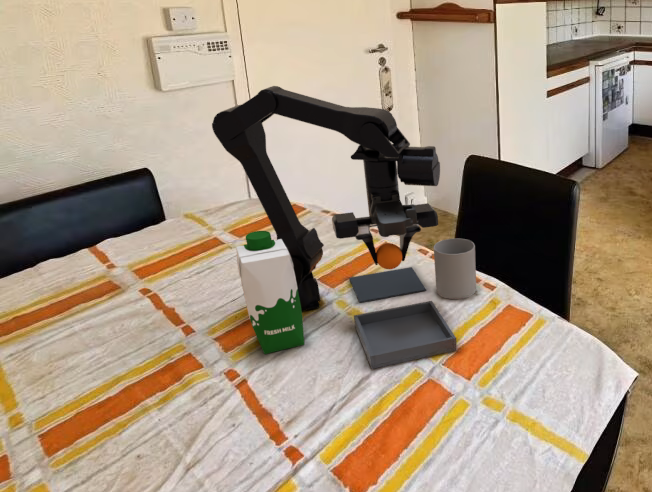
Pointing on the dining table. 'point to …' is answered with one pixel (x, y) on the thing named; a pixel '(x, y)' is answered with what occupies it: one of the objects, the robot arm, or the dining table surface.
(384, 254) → the ball
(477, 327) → the dining table surface
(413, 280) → the mat
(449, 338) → the shallow grey tray
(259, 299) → the milk carton
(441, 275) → the cup
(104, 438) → the dining table surface
